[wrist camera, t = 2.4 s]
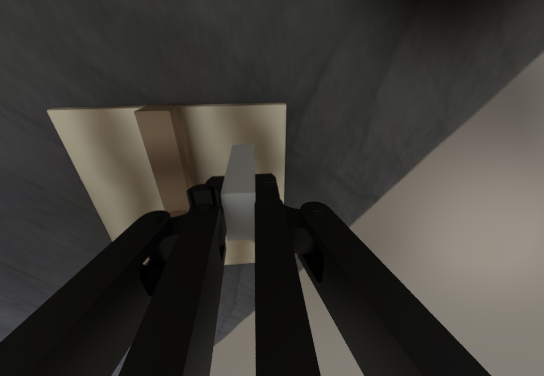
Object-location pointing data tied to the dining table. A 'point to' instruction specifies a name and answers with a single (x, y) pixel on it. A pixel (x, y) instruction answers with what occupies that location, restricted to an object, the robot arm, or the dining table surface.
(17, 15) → the dining table surface
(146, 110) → the wooden mallet
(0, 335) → the dining table surface
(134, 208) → the cream flat square slab
